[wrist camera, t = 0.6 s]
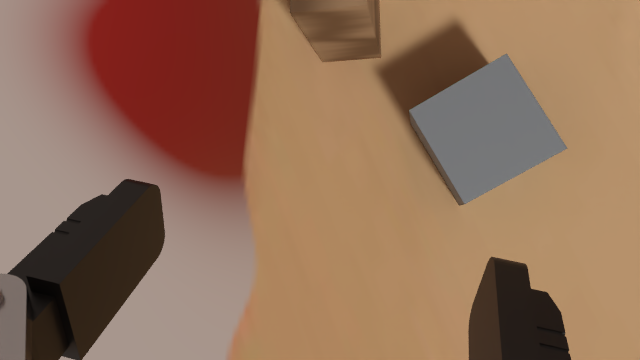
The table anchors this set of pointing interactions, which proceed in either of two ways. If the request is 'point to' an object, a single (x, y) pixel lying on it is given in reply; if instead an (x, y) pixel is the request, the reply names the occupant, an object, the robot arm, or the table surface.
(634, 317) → the table surface
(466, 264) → the table surface
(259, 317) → the table surface
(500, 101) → the slate gray block
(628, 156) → the table surface
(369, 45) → the walnut block
